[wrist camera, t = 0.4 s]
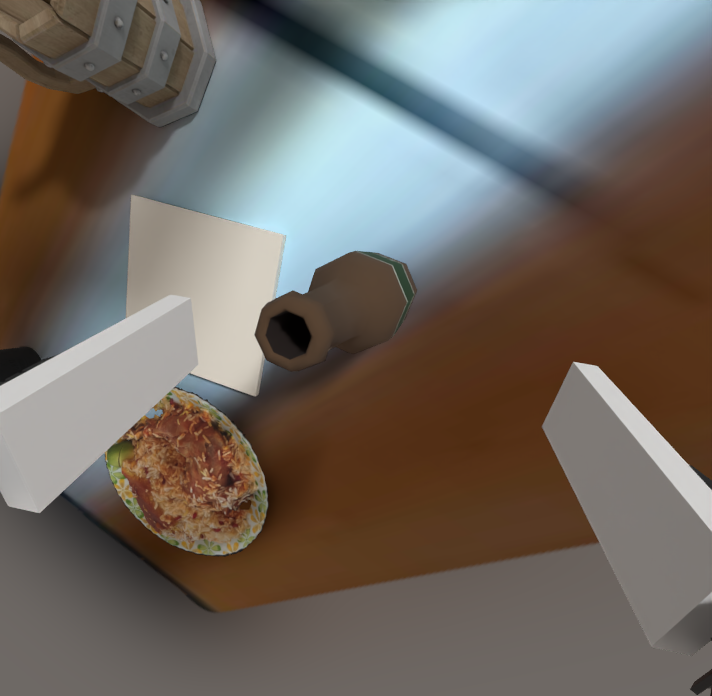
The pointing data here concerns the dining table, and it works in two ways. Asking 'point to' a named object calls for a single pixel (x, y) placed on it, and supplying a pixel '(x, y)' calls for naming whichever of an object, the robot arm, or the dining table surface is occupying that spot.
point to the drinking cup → (16, 361)
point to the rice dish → (190, 477)
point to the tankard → (114, 51)
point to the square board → (207, 282)
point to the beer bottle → (337, 311)
